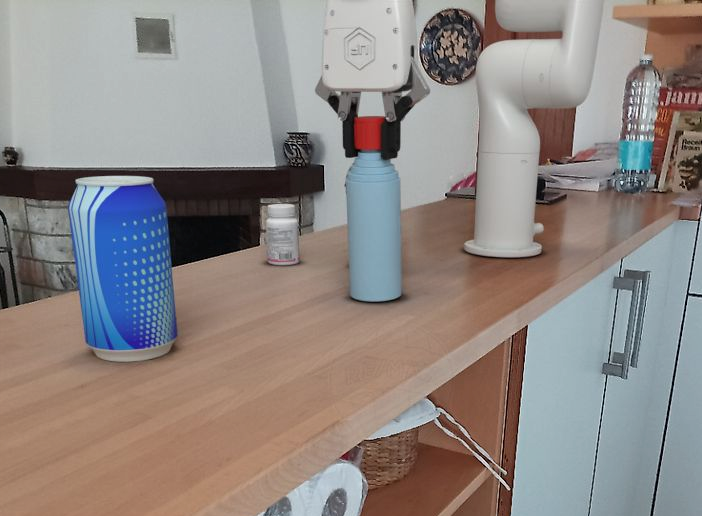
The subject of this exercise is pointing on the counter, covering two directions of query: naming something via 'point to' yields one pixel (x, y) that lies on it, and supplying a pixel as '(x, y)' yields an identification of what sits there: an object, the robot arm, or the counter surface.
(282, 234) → the pill bottle
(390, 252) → the water bottle
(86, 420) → the counter surface
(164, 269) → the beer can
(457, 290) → the counter surface
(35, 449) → the counter surface
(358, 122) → the cap
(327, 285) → the counter surface
